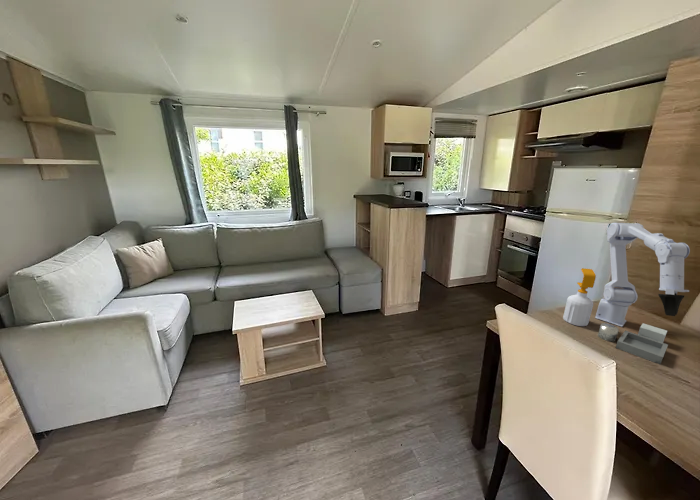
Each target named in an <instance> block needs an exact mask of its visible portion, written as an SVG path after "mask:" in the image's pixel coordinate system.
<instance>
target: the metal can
mask: <svg viewBox="0 0 700 500" xmlns="http://www.w3.org/2000/svg"><path fill="white" fill-rule="evenodd" d="M618 333H619V328H618V327H617V325H615V324H612V323H608V322H605V323H603V322H602V323H601V324H600V326H599V330H598V333H597V337H598V338H599V339H601V340H604V341H607V342H616V339H617V336H618Z"/></svg>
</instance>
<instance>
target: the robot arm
mask: <svg viewBox="0 0 700 500" xmlns="http://www.w3.org/2000/svg"><path fill="white" fill-rule="evenodd" d="M606 237H607V239H606V240H607V242H608V244H609V254H610V255H609V257H610V270H611V271H610V273H611V276H610V277H611V281H609V282H608V283H606V284H604V288H603V289H604V290H603V298H601V299H600V301H599V303H598V306H597V310H596V313H595V316H594V318H595V319H597V320H601V321H604V322H605V323H608V324H611V325H614V326H618V327H622V328H623V327H624V325H625V324H626V323H627V320H626V315H627V313H628V310H629V306H632V304H635V303H636V302H637V301H638V296H639V295H638V293H637V290H636V287H635V286H636V285H634V284H632V283H631V282H630V281H629V276H628V261H627V250H626V249H627V248H626V246H627V245H628V244H631V243H632V242H634V241H635V240H637V239H639V240H642V241H643V244H644V245H645V246H646V247H647V248H649V249H651V250H652V251H653V252H654V253H655V255H656V257H657V262H658V263H659V288H658V290H659V291H665V292H664V293H665V294H664V293H658V297H659V298H660V300H661V302H662V306H663V310H664V313H665V316H671V317H676V316H677V315H678V312H679V308H680V304H681V302H682V301H683V299H684V298H685V295H683V294H681V295H680V294H678V292H679V293H689V292H690V290H689V289H685V259H687V258H688V256H689V255H690V252H691V249H690V246H689V245H688V244H687V243H686V242H676V241H674V239H672V238H668V237H666V236H665V235H664V234H663V233H661V232H655V233H652V232H650V231H649V230H647V229H645V227H644V225H643V224H641V223H637V222H635V223H633V222H632V223H630V222H629V223H628V222H612V223H610V224H609V226H608V228H606Z"/></svg>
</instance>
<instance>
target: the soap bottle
mask: <svg viewBox="0 0 700 500" xmlns="http://www.w3.org/2000/svg"><path fill="white" fill-rule="evenodd" d="M580 270H581V272H582V274H583V276H582V282H581V281H580V282H576V283H577V285H578V286H579V288H580V289H579V288H578V289H577V292H576V294H572V295H569V296H568V297H567V298H566V304H565V307H564V311H563V312H564V313H563V316H562V319H563V321H565V322H566V323H569V324H571V325H573V326H578V327H585V326H586V327H587V326H588V325H589V322H590V318H591V315H592V311H593V308H594V302H593V300H592V299H591V298H590V297H588V291H587V289H589V288H591V289H593V288H594V285H595V281H596V278H597V277H596V276H597V275H596V273H595V271H594V269H592V268H584V267H583V268H581V269H580Z"/></svg>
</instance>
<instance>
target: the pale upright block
mask: <svg viewBox="0 0 700 500" xmlns="http://www.w3.org/2000/svg"><path fill="white" fill-rule="evenodd" d="M667 333H668V330H666V329H663V328H660V327H656V326H653V325H650V324H646V323H643V322H642V324H641V325H640V327H639V330H638V333H637V334H638V335H641V336H644V337H647V338H650V339H653V340H656V341H659V342H662V343H664V342H665V339H666V335H667Z"/></svg>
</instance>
